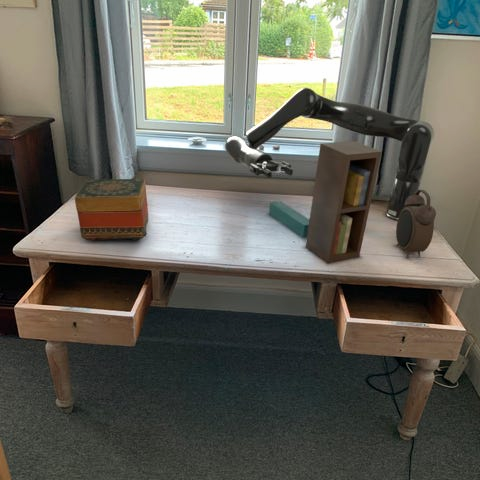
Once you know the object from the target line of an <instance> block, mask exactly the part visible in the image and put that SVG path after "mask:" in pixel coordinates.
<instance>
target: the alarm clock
mask: <svg viewBox="0 0 480 480" xmlns="http://www.w3.org/2000/svg"><path fill="white" fill-rule="evenodd" d="M420 194H423V195H424V196H425V198H426V200H425V198H424V197H423V196H421V195H420ZM425 201H426V202H425ZM405 206H406V207H405V208H404V209H403V210H402V211H401V213H400V215H399V218H398V220H396V227H395V228H396V229H395V236H396V237H395V239H396V242H397V244H396V247H399V250H401V251H402V252H405V253H406V259H409V255H410V253H417V254H418V257H419V258H420V257H421V252H425V251H426V250H427V249H428V248H429V246H430V244H431V242H432V239H433V236H434V232H435V231H434V230H435V220H436V216H437V211H436V209H435V208H434V207H433V206H432V205H431V195H430V194H429V193H428V192H427V191H426V190H424V189H419V190H418V191H417V192H414V195H413V196H410V197H408V198H407V199H406V202H405Z"/></svg>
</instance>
